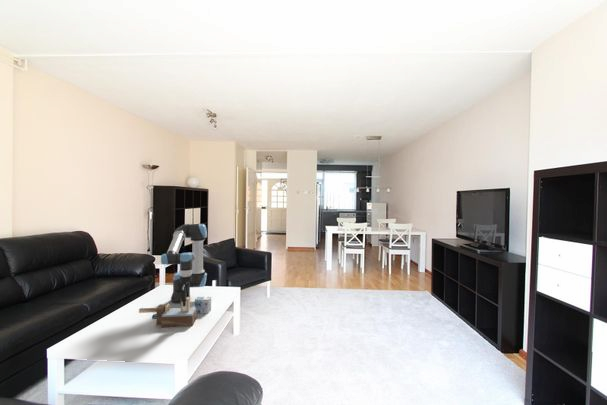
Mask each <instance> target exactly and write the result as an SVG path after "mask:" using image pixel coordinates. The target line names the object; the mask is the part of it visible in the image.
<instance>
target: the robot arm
mask: <svg viewBox="0 0 607 405" xmlns="http://www.w3.org/2000/svg"><path fill="white" fill-rule="evenodd" d="M207 237H208V231H207V226H206V224H204V223H186V224H182V225H181V226H179V227H177V228H176V229H175V231H174V232H173V234H172V240H171V243H170V244H169V247H168V250H167V251H166V253H163V254H161V256H160V263H161V265H168V266H169V265H179V272H177V273H174V274H173V279H172V283H173V284H172V293H171V297H170V302H171V303H174V304H181V302H182V311H186V310H187V301H186V297H190V298H191V295H190V293H191V292H190V291H191V288H204V287H205V285H206V282H207V276H208V273H207V272H205V271H206V270H205V269H204V241H205V240H206V238H207ZM185 239H190V241H191V243H192V249H191V250H192V252H190V251H189V252H182V253H179V251H180V249H181V246H182V245H183V241H184V240H185Z"/></svg>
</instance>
